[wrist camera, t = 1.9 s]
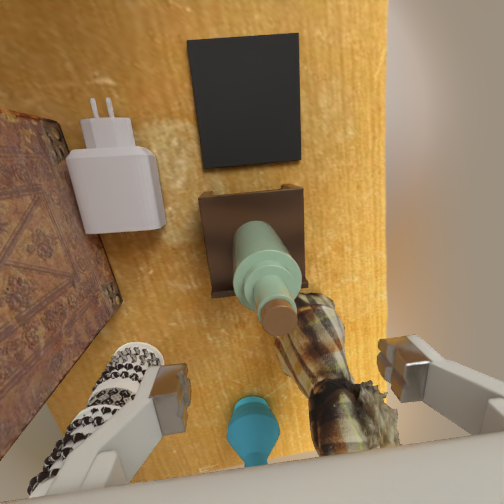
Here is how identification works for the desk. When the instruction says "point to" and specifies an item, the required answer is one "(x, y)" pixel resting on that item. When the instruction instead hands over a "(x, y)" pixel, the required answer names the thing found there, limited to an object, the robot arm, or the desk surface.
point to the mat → (247, 98)
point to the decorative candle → (100, 405)
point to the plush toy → (333, 383)
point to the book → (43, 271)
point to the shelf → (240, 212)
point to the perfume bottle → (253, 430)
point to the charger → (115, 178)
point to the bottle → (266, 277)
